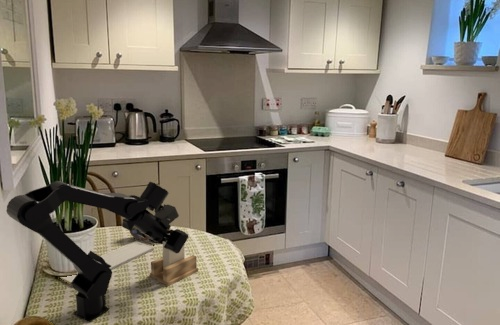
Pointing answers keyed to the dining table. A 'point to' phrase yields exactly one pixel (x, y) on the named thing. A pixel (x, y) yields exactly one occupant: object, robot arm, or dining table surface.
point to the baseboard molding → (121, 256)
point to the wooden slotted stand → (173, 270)
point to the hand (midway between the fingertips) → (177, 246)
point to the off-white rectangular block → (171, 256)
